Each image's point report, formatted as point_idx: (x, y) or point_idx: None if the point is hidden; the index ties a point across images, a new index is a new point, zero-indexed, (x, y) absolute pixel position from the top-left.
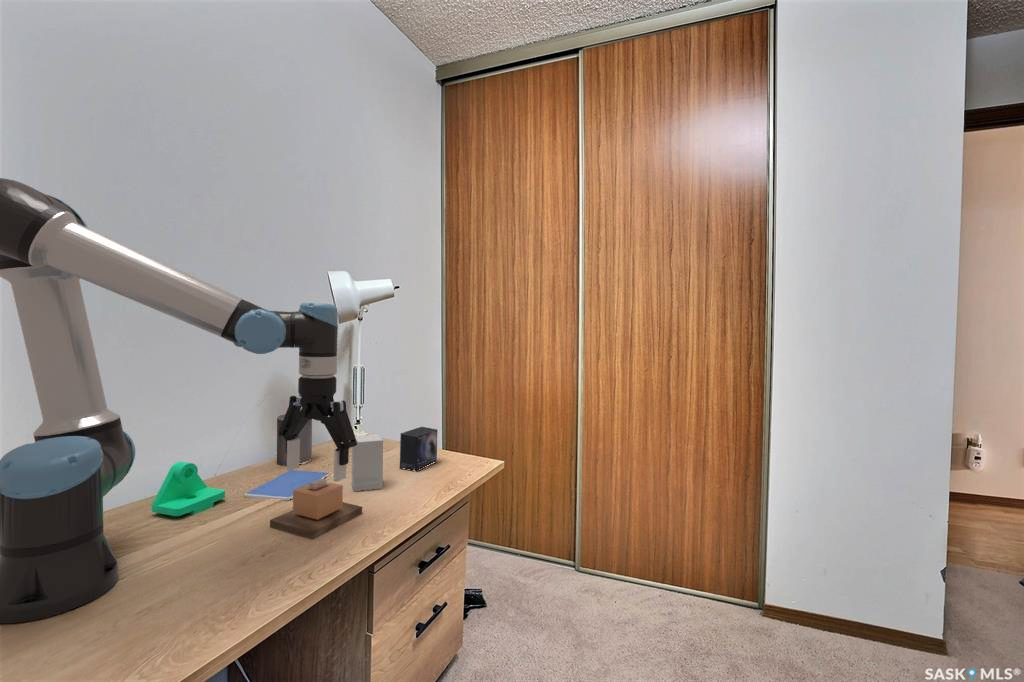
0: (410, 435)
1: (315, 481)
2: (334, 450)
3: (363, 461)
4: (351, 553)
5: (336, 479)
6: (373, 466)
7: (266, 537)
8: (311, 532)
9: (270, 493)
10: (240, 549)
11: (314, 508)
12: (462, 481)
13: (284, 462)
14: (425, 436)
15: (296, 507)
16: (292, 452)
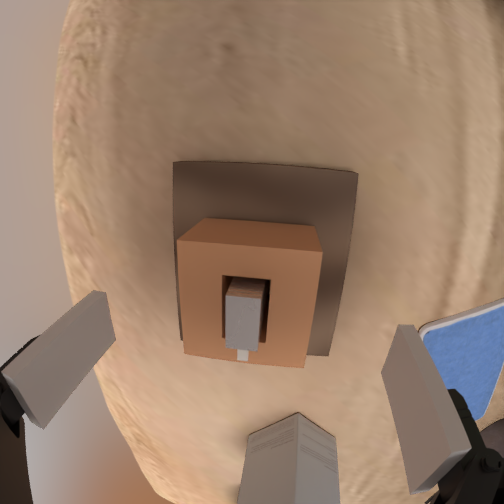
0: None
1: (247, 319)
2: (12, 376)
3: (274, 479)
4: (69, 158)
5: (88, 294)
6: (256, 472)
7: (307, 116)
8: (178, 162)
9: (475, 327)
10: (310, 44)
11: (208, 227)
12: (148, 461)
13: (499, 425)
14: None
15: (299, 230)
16: (419, 405)
